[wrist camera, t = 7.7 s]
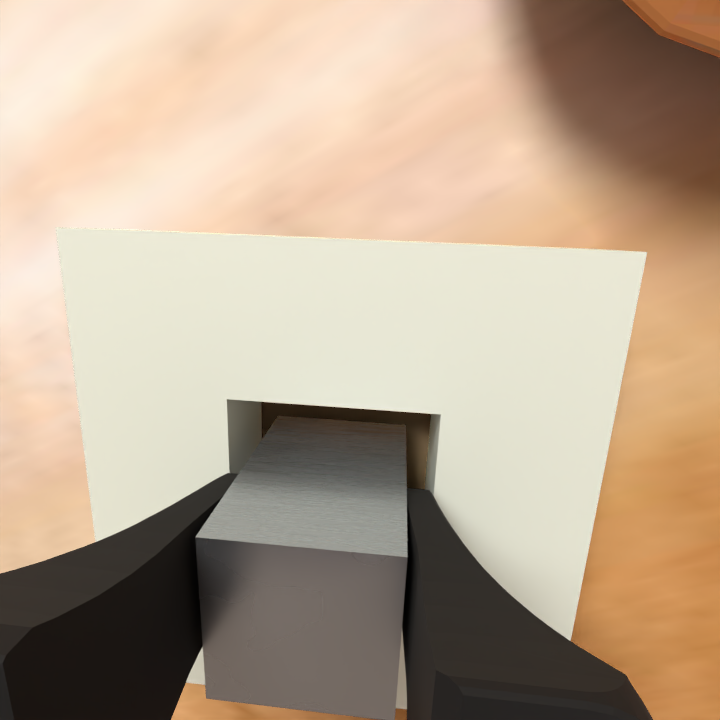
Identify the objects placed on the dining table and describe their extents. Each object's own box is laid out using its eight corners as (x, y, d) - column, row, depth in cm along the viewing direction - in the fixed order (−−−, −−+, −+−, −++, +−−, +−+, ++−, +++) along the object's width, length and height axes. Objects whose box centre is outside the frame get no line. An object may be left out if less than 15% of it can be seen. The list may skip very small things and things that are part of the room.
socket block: (593, 248, 13) (647, 251, 10) (528, 643, 17) (553, 727, 14) (125, 229, 14) (55, 227, 11) (159, 603, 18) (112, 673, 15)
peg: (405, 425, 14) (407, 557, 8) (398, 536, 15) (394, 721, 10) (278, 415, 14) (195, 537, 9) (279, 525, 16) (206, 698, 10)
